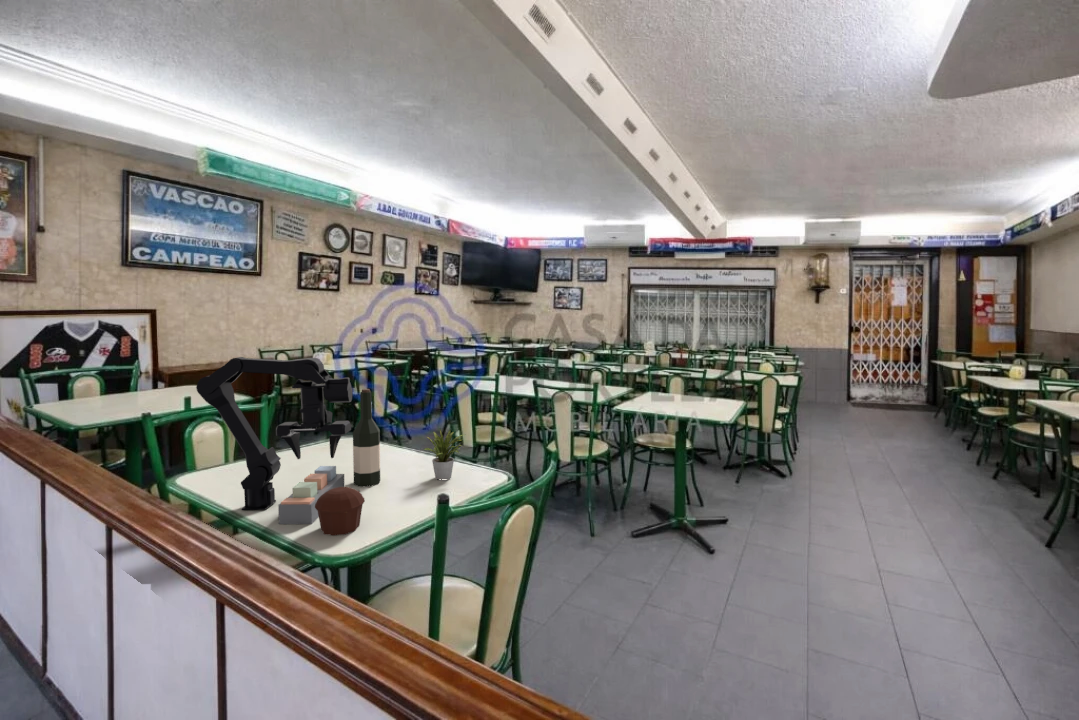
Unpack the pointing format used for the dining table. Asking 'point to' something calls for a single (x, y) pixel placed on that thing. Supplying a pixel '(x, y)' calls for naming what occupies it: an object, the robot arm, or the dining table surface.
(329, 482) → the console
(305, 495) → the sage key
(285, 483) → the dining table surface
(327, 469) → the slate key
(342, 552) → the dining table surface
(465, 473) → the dining table surface
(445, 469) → the house plant
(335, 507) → the muffin
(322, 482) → the terracotta key
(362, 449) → the wine bottle
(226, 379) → the robot arm
